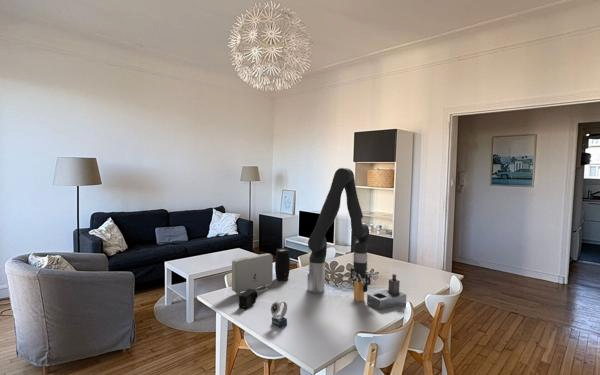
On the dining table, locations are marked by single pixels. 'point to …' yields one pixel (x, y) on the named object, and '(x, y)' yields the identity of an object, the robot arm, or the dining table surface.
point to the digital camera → (247, 299)
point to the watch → (279, 319)
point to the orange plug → (358, 290)
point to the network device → (252, 273)
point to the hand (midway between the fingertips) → (359, 289)
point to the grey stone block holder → (385, 299)
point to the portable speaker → (282, 264)
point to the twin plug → (393, 285)
